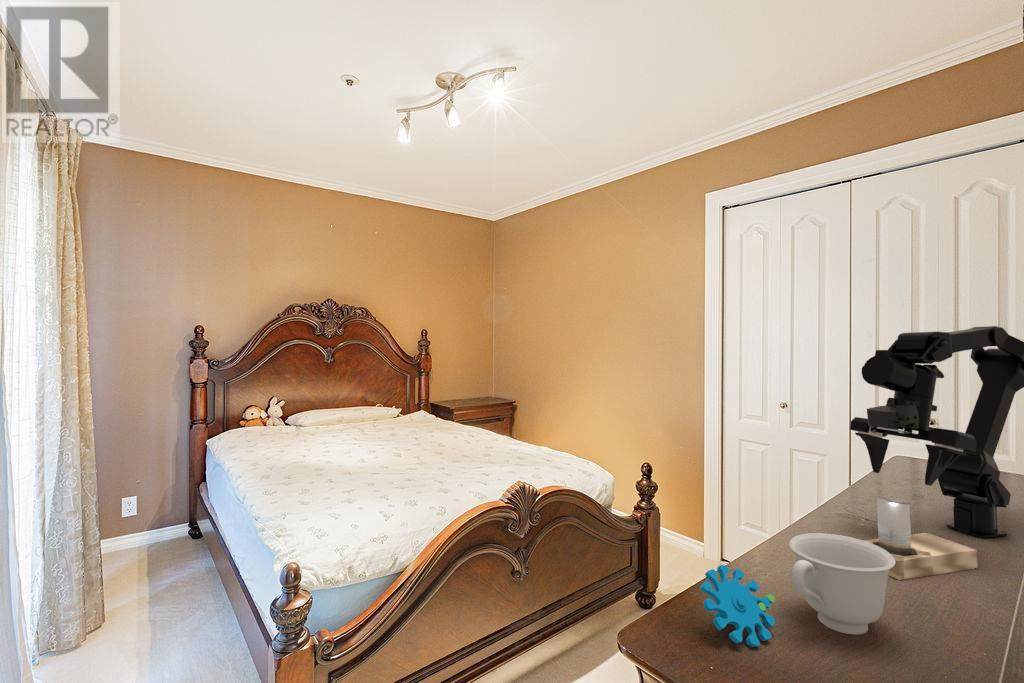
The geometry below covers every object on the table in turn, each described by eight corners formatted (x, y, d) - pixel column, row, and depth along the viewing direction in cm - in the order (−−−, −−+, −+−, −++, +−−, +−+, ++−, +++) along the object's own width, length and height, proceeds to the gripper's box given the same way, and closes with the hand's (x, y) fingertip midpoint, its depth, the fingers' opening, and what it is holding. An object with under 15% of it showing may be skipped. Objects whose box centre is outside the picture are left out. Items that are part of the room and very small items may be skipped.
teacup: (757, 616, 68) (755, 545, 68) (827, 592, 74) (824, 527, 74) (845, 667, 57) (842, 582, 57) (919, 634, 63) (916, 557, 63)
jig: (927, 548, 88) (926, 532, 88) (977, 568, 80) (976, 550, 80) (854, 558, 85) (853, 541, 85) (898, 579, 77) (897, 561, 77)
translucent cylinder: (885, 558, 85) (882, 495, 85) (916, 567, 81) (913, 501, 82) (875, 565, 83) (872, 500, 83) (907, 574, 79) (904, 507, 79)
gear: (725, 645, 59) (694, 562, 66) (700, 659, 63) (674, 579, 70) (798, 642, 62) (761, 562, 69) (771, 655, 66) (738, 579, 73)
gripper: (835, 384, 98) (823, 460, 97) (939, 391, 80) (925, 485, 79) (875, 395, 101) (863, 469, 100) (984, 405, 83) (971, 495, 82)
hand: (900, 478), depth 90 cm, fingers open, 9 cm apart
